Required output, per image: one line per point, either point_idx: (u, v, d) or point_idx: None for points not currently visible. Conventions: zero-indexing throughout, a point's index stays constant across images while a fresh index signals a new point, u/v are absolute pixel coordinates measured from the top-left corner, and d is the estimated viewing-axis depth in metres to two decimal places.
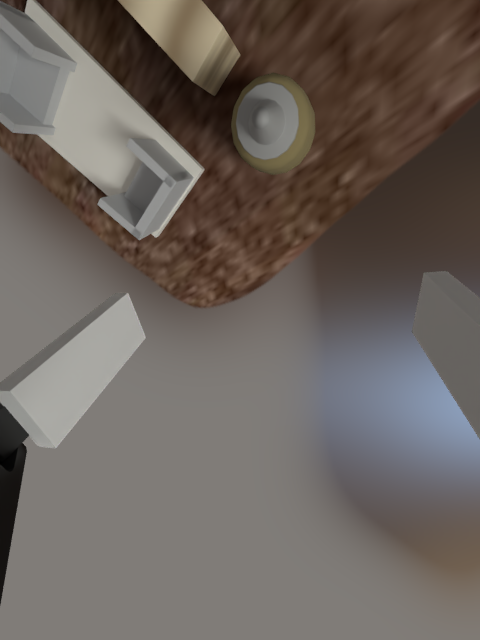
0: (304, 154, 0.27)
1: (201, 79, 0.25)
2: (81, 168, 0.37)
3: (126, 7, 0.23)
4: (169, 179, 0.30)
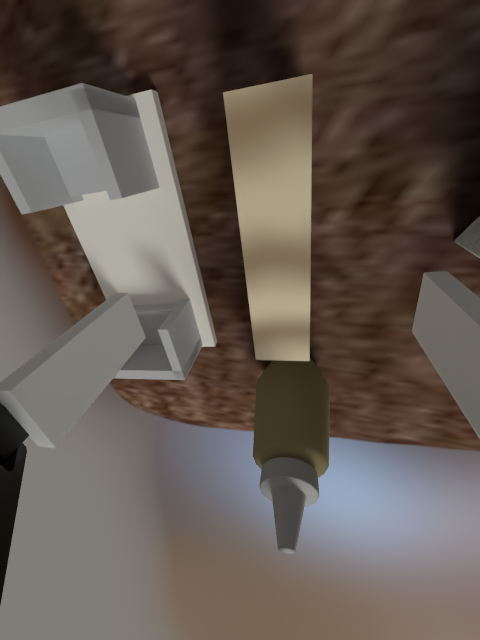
0: None
1: None
2: (87, 250, 0.28)
3: (247, 282, 0.19)
4: (179, 374, 0.27)
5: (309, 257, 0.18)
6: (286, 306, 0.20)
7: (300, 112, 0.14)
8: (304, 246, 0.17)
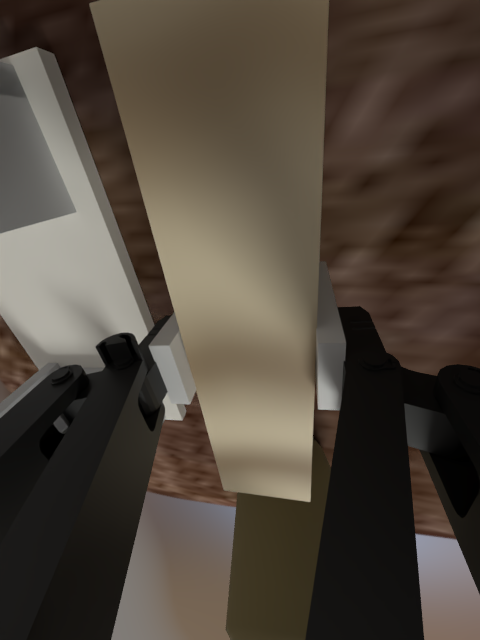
0: None
1: None
2: None
3: (200, 395, 0.11)
4: None
5: (313, 368, 0.09)
6: (269, 432, 0.11)
7: (295, 59, 0.05)
8: (302, 349, 0.09)
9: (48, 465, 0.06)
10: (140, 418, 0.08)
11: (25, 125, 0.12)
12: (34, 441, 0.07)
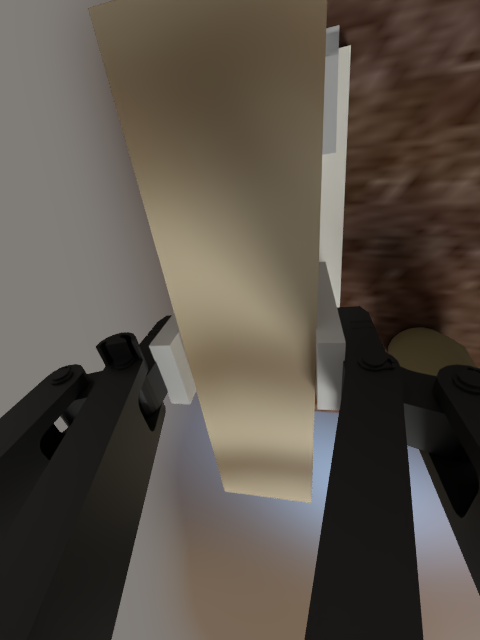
0: None
1: None
2: None
3: (200, 396, 0.11)
4: None
5: (313, 369, 0.09)
6: (270, 434, 0.11)
7: (293, 62, 0.05)
8: (302, 351, 0.09)
9: (48, 465, 0.06)
10: (140, 418, 0.08)
11: None
12: (34, 441, 0.07)
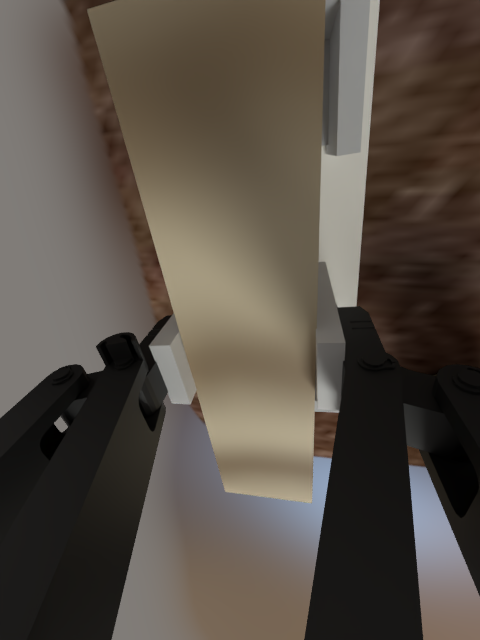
0: None
1: None
2: None
3: (201, 396, 0.11)
4: None
5: (313, 369, 0.09)
6: (270, 434, 0.11)
7: (291, 63, 0.05)
8: (302, 351, 0.09)
9: (49, 465, 0.06)
10: (141, 418, 0.08)
11: None
12: (34, 441, 0.07)
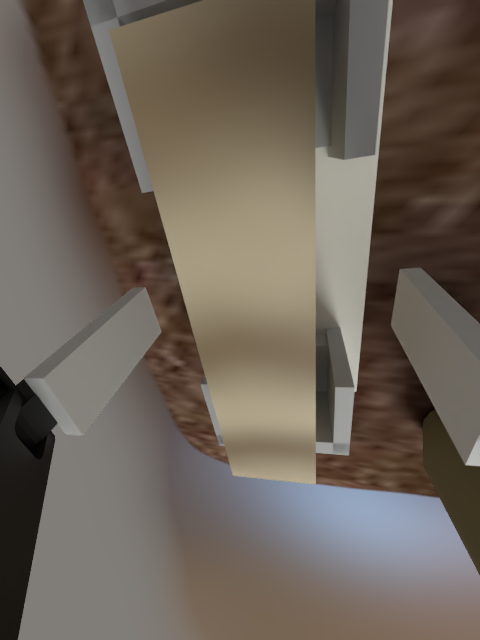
0: None
1: None
2: None
3: (209, 380, 0.11)
4: (343, 447, 0.18)
5: (313, 350, 0.10)
6: (275, 416, 0.12)
7: (287, 71, 0.06)
8: (303, 333, 0.09)
9: None
10: (21, 447, 0.07)
11: None
12: None
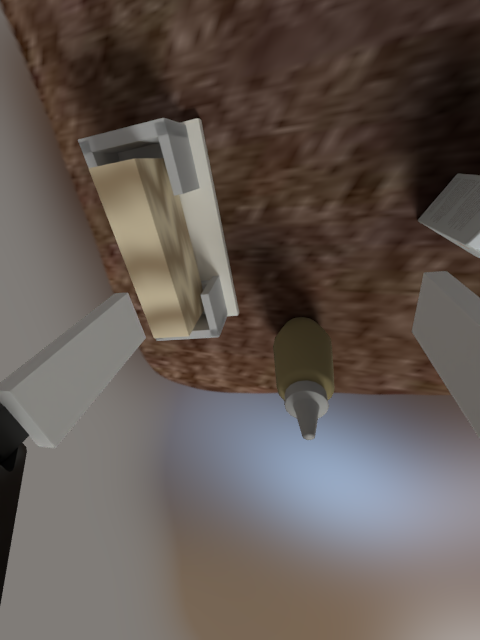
0: None
1: None
2: None
3: (133, 282, 0.29)
4: (215, 332, 0.35)
5: (166, 263, 0.27)
6: (162, 297, 0.29)
7: (134, 178, 0.23)
8: (160, 256, 0.27)
9: None
10: None
11: (188, 149, 0.29)
12: None
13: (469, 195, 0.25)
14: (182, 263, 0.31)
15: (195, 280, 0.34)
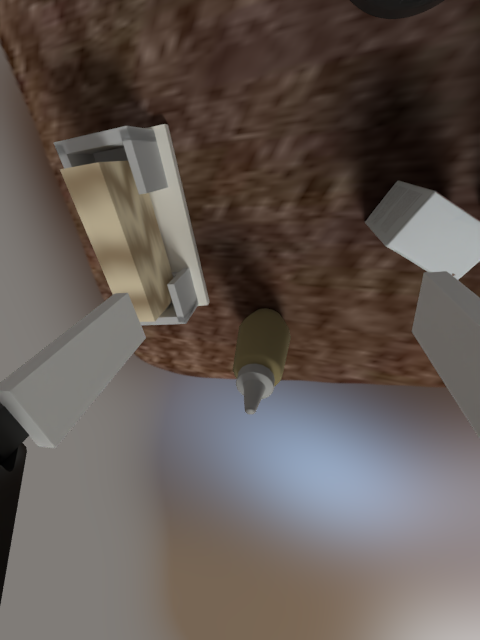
0: None
1: None
2: None
3: (103, 271, 0.32)
4: (182, 319, 0.38)
5: (130, 255, 0.30)
6: (129, 285, 0.33)
7: (99, 179, 0.27)
8: (125, 248, 0.30)
9: None
10: None
11: (156, 151, 0.32)
12: None
13: (398, 201, 0.28)
14: (149, 255, 0.34)
15: (164, 271, 0.38)
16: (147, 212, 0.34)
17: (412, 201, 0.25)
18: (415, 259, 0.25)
